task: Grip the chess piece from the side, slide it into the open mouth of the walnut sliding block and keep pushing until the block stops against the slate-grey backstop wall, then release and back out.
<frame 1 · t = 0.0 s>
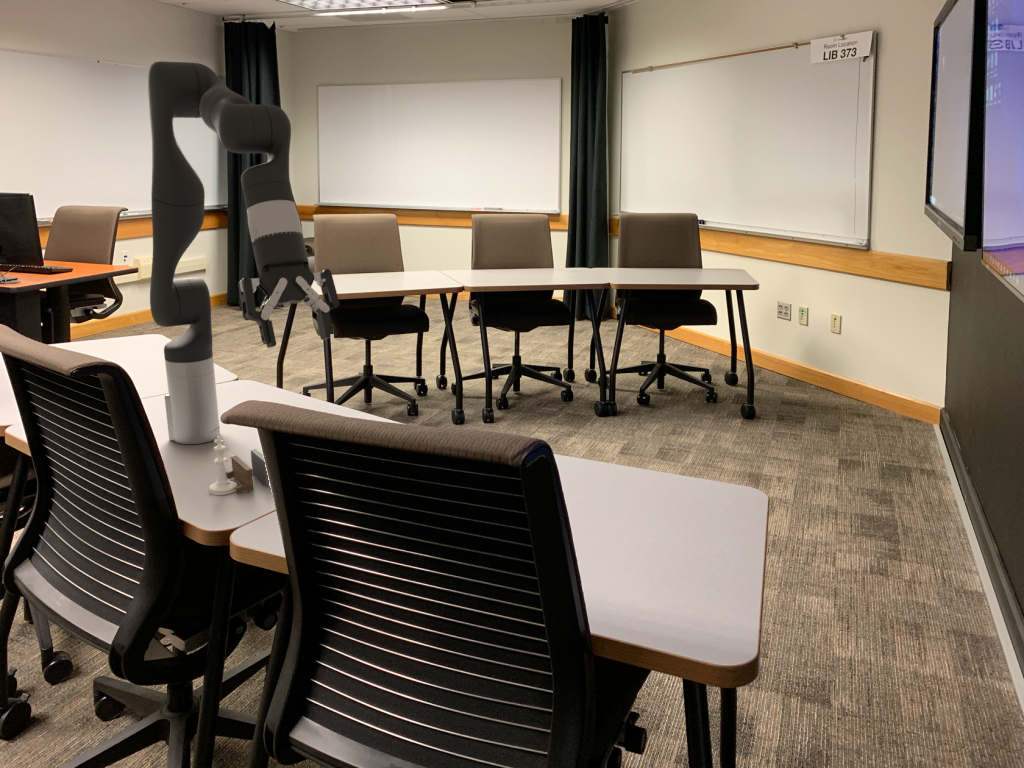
hand: (299, 342, 131), 31 cm above the table, tool tilted 20°, fingers open, 8 cm apart
sliding block: (236, 474, 158), point 2 cm above the table, slide at 0.0 cm
backstop wall: (242, 485, 159), on the table
chess piece: (223, 490, 157), on the table
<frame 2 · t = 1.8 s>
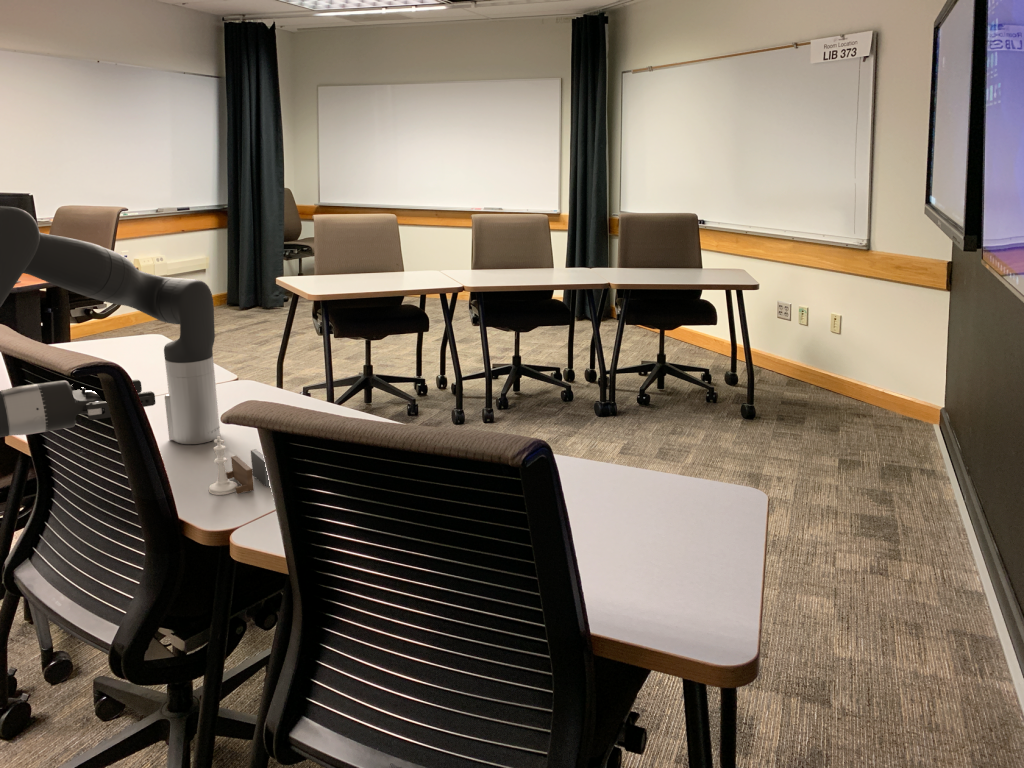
hand: (147, 391, 145), 20 cm above the table, tool horizontal, fingers open, 8 cm apart
nothing on the table moved.
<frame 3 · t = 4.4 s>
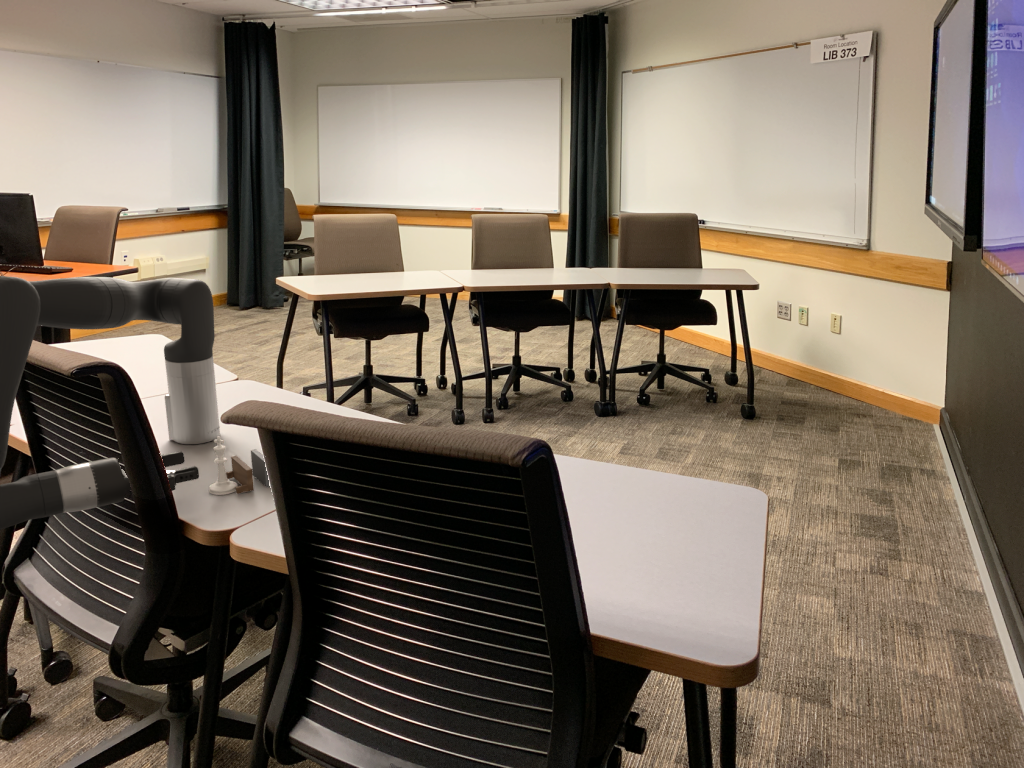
hand: (190, 464, 153), 6 cm above the table, tool horizontal, fingers open, 8 cm apart
nothing on the table moved.
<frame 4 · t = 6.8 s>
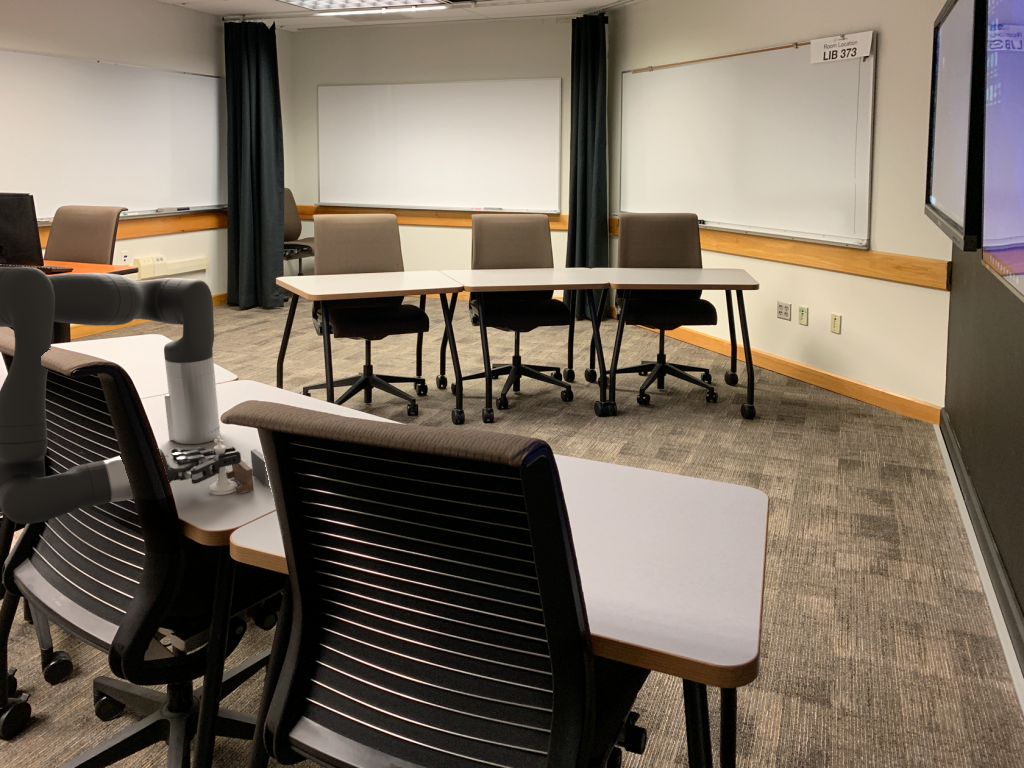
hand: (237, 454, 157), 6 cm above the table, tool horizontal, fingers closed on chess piece
chess piece: (223, 490, 157), on the table, touching gripper
everything else where it was.
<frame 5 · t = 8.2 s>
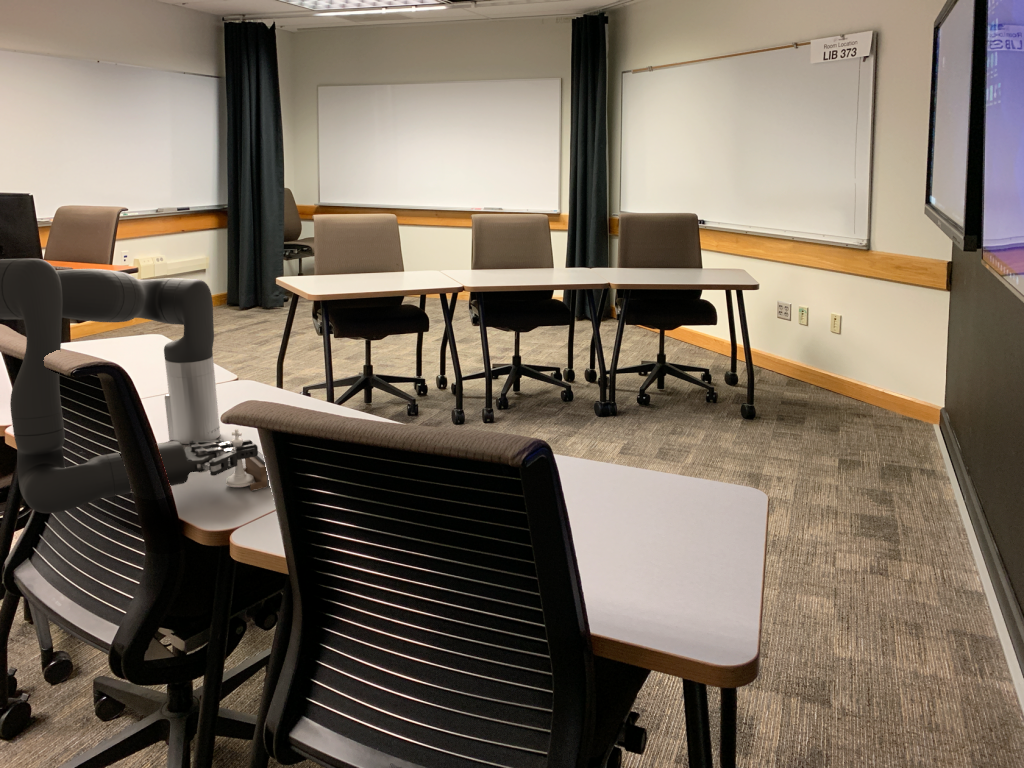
hand: (254, 447, 159), 7 cm above the table, tool horizontal, fingers closed on chess piece
sliding block: (250, 471, 159), point 2 cm above the table, slide at 2.5 cm, touching backstop wall, chess piece
chess piece: (240, 483, 159), on the table, touching gripper, sliding block
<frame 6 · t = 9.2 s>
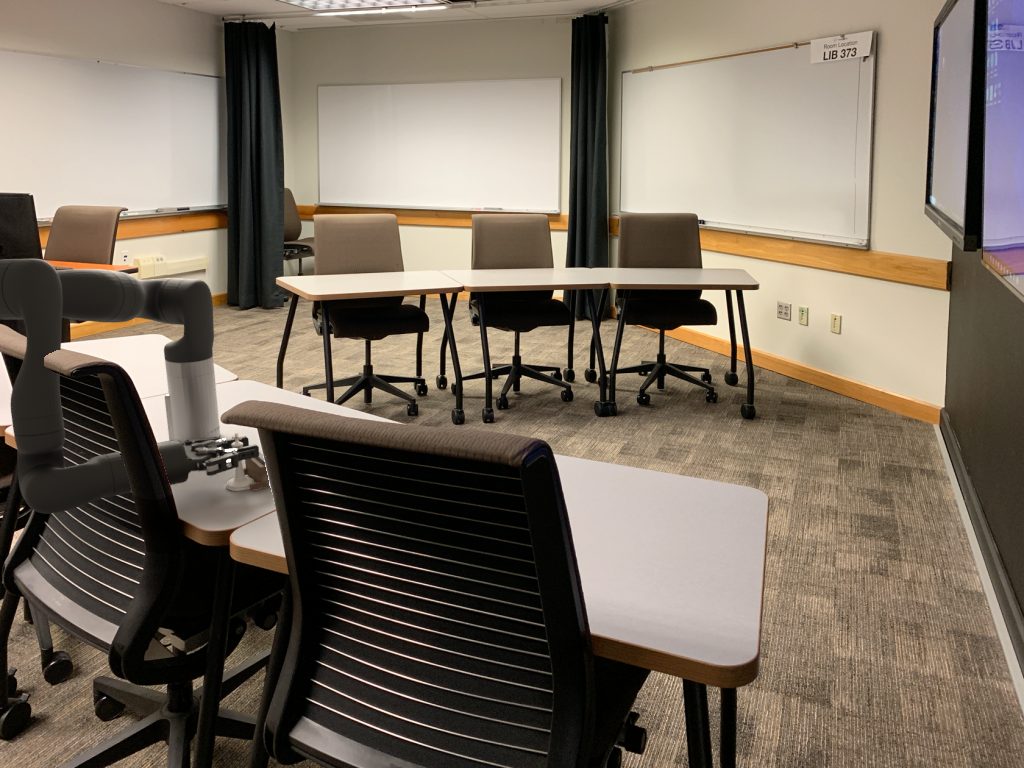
hand: (252, 446, 158), 7 cm above the table, tool horizontal, fingers open, 4 cm apart
sliding block: (250, 471, 159), point 2 cm above the table, slide at 2.5 cm, touching backstop wall
chess piece: (240, 486, 159), on the table
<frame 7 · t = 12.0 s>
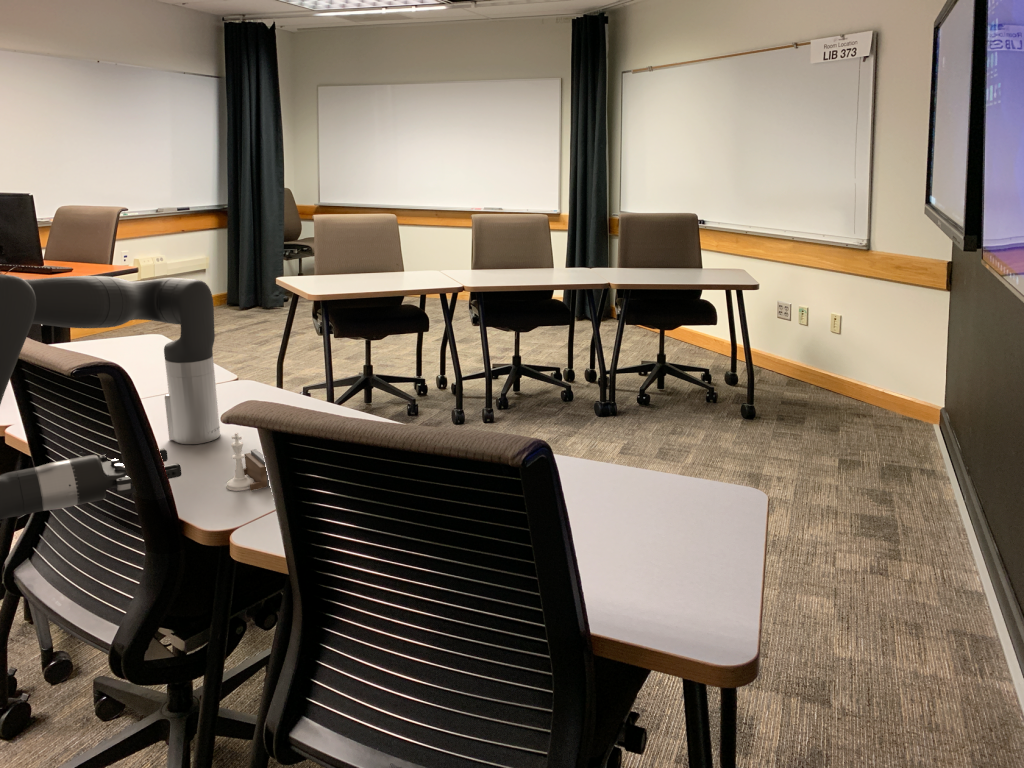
hand: (173, 461, 151), 7 cm above the table, tool horizontal, fingers open, 8 cm apart
nothing on the table moved.
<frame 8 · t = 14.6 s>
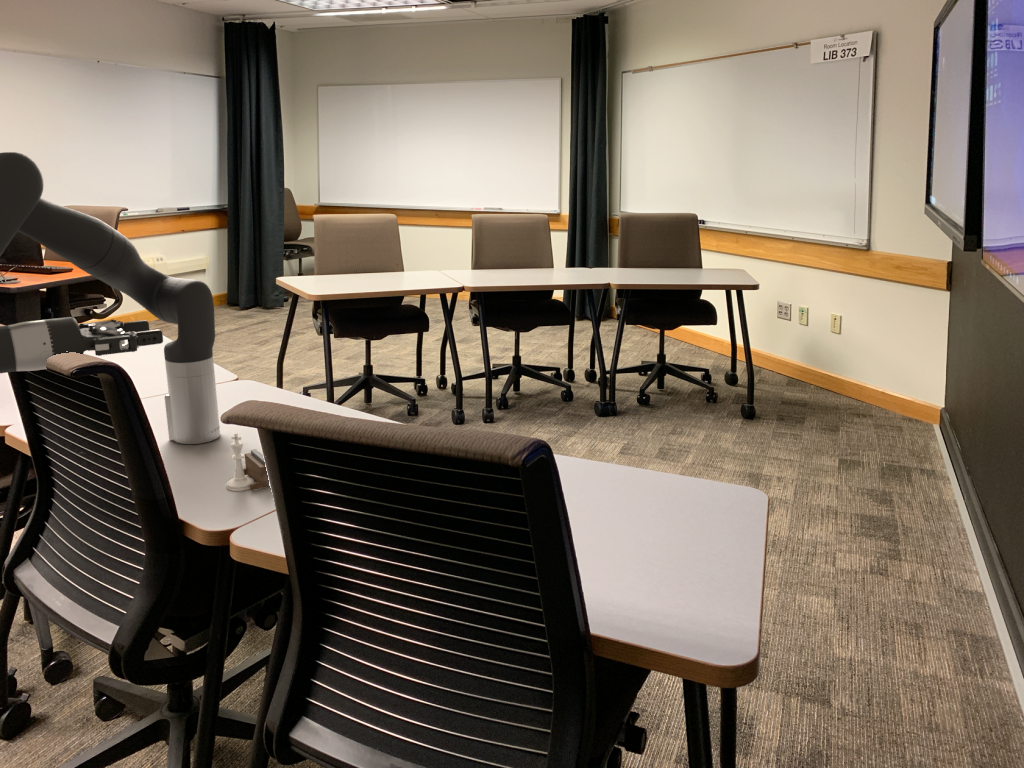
hand: (155, 331, 144), 30 cm above the table, tool horizontal, fingers open, 8 cm apart
nothing on the table moved.
at the end: sliding block slide at 2.5 cm; chess piece 0.2 cm from the target spot, on the table; chess piece tilted 0° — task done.
